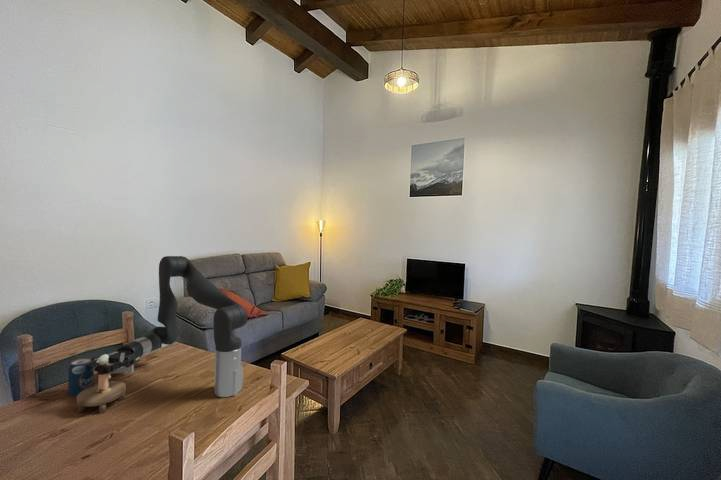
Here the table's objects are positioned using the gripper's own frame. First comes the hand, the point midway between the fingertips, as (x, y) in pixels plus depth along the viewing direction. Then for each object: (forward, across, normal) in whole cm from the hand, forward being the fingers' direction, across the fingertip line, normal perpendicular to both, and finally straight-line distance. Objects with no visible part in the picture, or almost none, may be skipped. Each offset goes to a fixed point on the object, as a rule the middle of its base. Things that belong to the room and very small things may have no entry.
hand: (97, 368), depth 104 cm
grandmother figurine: (-2, 0, +9) cm, 9 cm away
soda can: (-8, -14, +14) cm, 21 cm away
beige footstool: (-2, 0, +14) cm, 14 cm away
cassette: (-24, -14, +14) cm, 31 cm away
